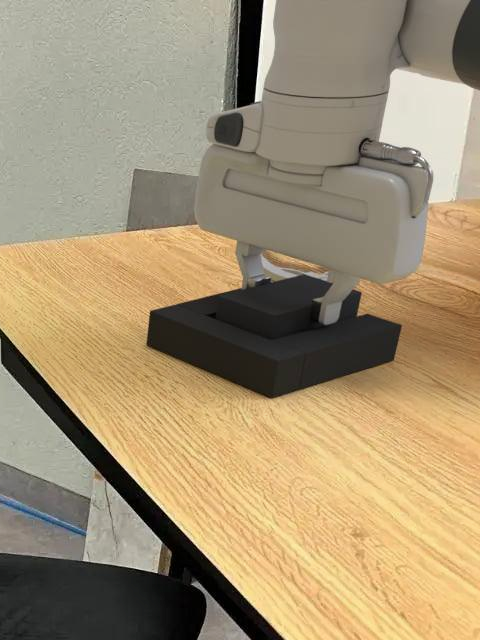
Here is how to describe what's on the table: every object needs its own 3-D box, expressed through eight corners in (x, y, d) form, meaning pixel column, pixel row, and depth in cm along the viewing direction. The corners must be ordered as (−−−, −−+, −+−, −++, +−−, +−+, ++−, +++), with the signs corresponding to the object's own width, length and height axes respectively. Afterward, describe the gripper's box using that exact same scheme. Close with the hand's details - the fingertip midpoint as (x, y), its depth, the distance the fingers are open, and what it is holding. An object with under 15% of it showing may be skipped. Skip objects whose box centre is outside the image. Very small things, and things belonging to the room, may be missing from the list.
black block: (298, 308, 99) (304, 274, 97) (354, 327, 94) (362, 292, 93) (213, 331, 94) (218, 295, 93) (268, 352, 90) (274, 315, 88)
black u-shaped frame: (263, 313, 103) (269, 280, 101) (394, 360, 93) (402, 324, 91) (145, 344, 97) (149, 310, 95) (271, 398, 87) (277, 360, 85)
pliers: (356, 246, 114) (391, 293, 102) (352, 261, 115) (388, 310, 103) (254, 244, 115) (277, 291, 103) (252, 260, 116) (274, 308, 104)
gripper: (467, 147, 80) (421, 337, 87) (248, 106, 95) (225, 272, 102) (407, 159, 77) (365, 354, 85) (192, 115, 92) (172, 285, 99)
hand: (287, 309), depth 93 cm, fingers closed on black block, 6 cm apart
